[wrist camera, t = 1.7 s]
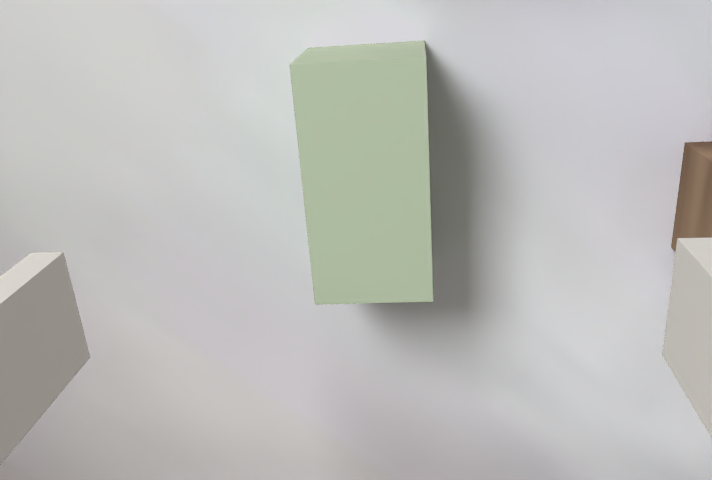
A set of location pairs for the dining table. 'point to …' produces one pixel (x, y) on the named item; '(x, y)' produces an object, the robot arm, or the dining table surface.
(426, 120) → the sage brick
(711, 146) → the walnut brick
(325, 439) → the dining table surface
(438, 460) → the dining table surface
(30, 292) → the robot arm
